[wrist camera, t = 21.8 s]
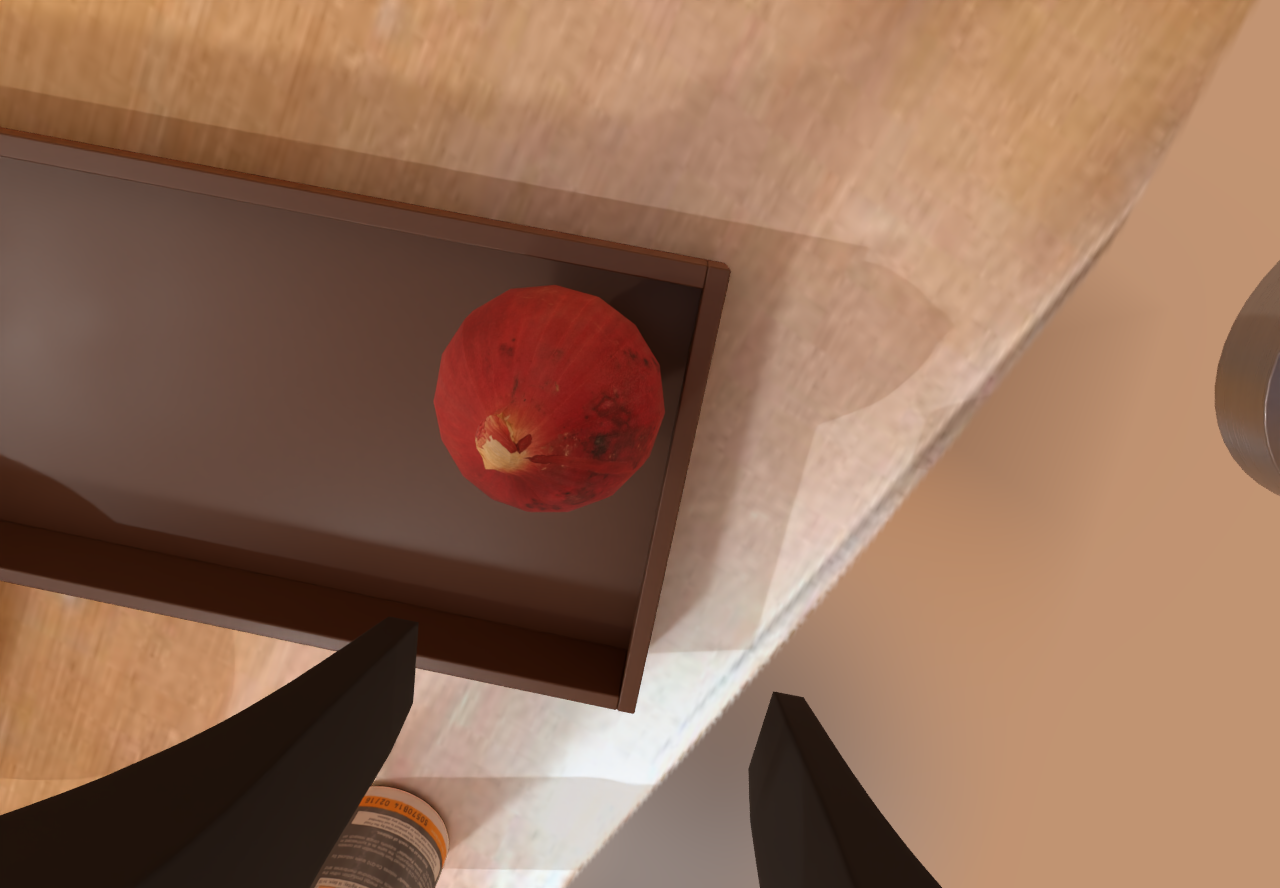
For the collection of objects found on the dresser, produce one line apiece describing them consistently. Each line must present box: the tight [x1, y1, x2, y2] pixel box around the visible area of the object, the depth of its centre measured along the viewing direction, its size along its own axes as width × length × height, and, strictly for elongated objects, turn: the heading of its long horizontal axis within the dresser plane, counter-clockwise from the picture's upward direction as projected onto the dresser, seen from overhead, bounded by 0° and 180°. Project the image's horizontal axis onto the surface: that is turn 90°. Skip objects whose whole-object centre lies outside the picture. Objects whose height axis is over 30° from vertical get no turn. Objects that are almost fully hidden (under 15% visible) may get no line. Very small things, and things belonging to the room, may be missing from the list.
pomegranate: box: [434, 285, 665, 512], centre depth 16 cm, size 6×6×8 cm
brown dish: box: [0, 127, 731, 714], centre depth 20 cm, size 30×15×3 cm, turn 80°
